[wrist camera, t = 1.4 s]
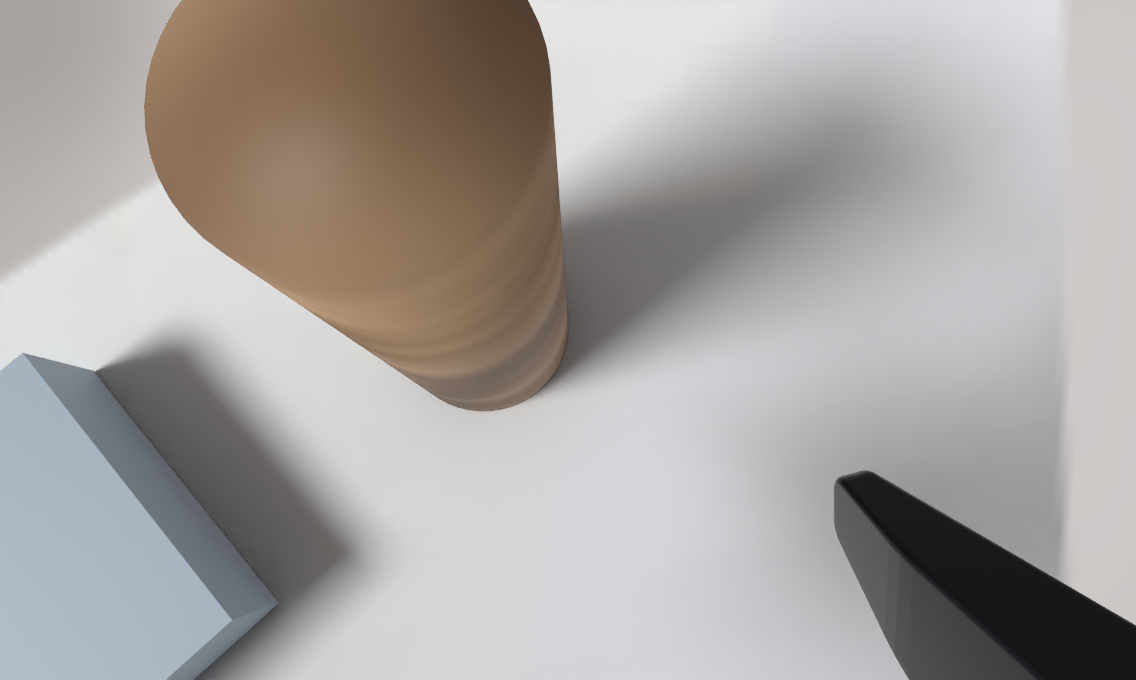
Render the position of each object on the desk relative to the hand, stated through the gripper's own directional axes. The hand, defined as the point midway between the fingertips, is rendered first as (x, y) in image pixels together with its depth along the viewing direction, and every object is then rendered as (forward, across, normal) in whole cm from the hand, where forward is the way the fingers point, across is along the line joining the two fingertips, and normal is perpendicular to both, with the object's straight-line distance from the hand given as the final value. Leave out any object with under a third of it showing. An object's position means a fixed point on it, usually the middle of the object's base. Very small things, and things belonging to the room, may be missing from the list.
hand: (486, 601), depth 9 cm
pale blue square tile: (+11, +14, +8) cm, 19 cm away
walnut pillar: (+14, 0, +5) cm, 14 cm away
